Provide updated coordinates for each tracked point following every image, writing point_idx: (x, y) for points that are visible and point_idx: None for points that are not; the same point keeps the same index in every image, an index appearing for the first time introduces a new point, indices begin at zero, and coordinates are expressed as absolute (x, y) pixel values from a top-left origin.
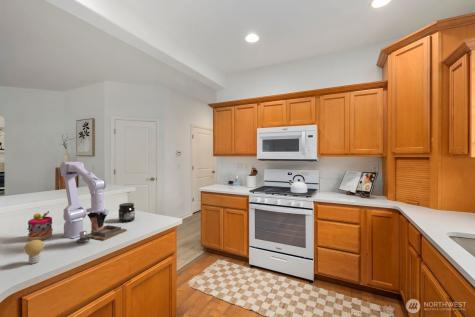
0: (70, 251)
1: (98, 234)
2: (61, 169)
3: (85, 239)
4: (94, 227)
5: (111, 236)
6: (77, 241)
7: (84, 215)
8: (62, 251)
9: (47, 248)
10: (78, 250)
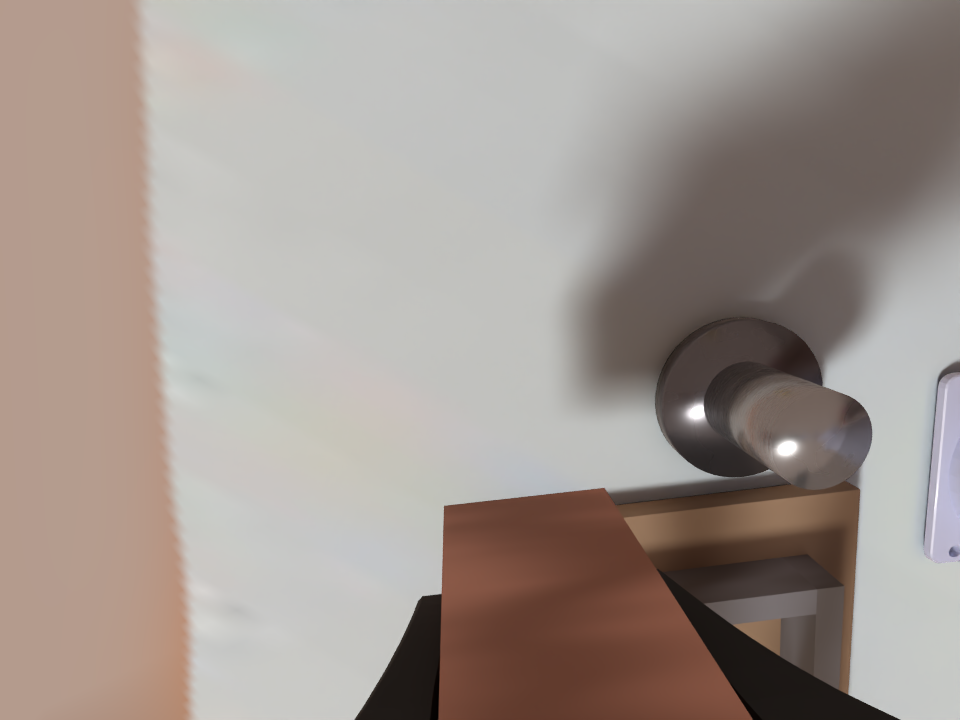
0: (531, 94)
1: None
2: None
3: (704, 412)
4: (522, 537)
5: None
6: (748, 321)
7: None
8: (639, 42)
9: (955, 5)
10: (459, 168)
